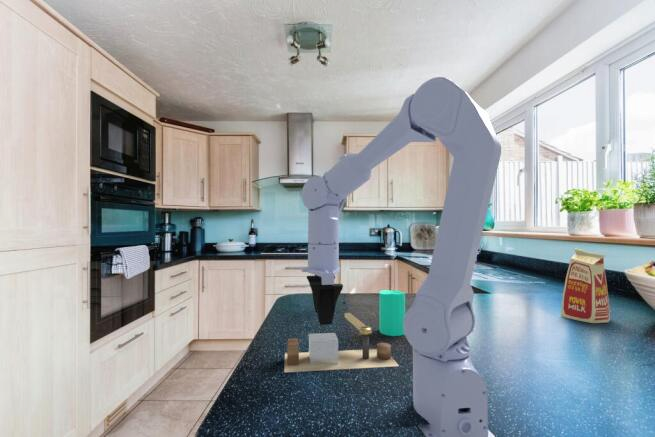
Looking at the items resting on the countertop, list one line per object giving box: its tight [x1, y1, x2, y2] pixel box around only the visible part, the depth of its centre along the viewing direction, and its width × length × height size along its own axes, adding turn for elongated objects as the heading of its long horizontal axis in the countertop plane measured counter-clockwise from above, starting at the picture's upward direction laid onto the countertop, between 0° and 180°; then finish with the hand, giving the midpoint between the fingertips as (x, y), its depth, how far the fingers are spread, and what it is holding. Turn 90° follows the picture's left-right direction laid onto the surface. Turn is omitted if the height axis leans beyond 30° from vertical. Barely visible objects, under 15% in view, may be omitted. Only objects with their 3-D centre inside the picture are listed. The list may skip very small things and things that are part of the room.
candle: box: [378, 289, 406, 337], centre depth 72 cm, size 6×6×12 cm
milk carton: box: [560, 247, 611, 324], centre depth 88 cm, size 9×9×20 cm
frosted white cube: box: [308, 332, 339, 366], centre depth 56 cm, size 4×5×4 cm
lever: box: [344, 312, 372, 336], centre depth 62 cm, size 2×12×1 cm, turn 14°
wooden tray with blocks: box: [283, 334, 400, 373], centre depth 56 cm, size 8×20×6 cm, turn 97°
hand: (323, 317), depth 56 cm, fingers open, 7 cm apart
